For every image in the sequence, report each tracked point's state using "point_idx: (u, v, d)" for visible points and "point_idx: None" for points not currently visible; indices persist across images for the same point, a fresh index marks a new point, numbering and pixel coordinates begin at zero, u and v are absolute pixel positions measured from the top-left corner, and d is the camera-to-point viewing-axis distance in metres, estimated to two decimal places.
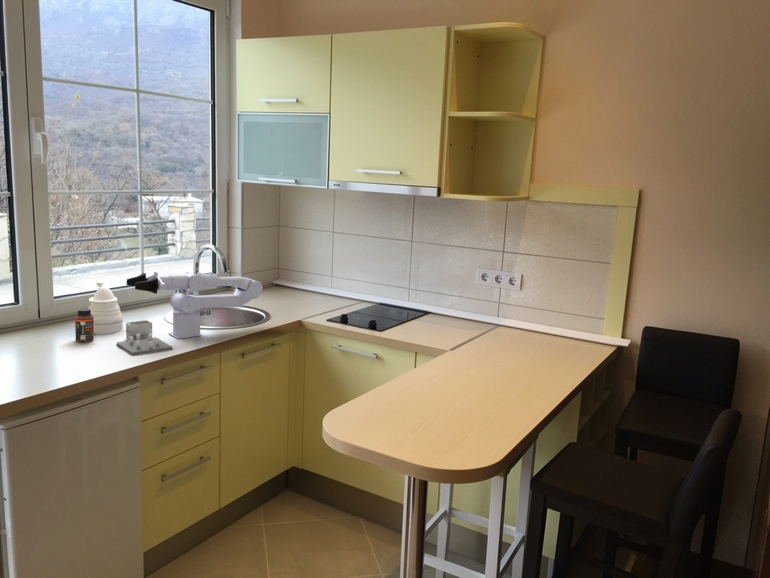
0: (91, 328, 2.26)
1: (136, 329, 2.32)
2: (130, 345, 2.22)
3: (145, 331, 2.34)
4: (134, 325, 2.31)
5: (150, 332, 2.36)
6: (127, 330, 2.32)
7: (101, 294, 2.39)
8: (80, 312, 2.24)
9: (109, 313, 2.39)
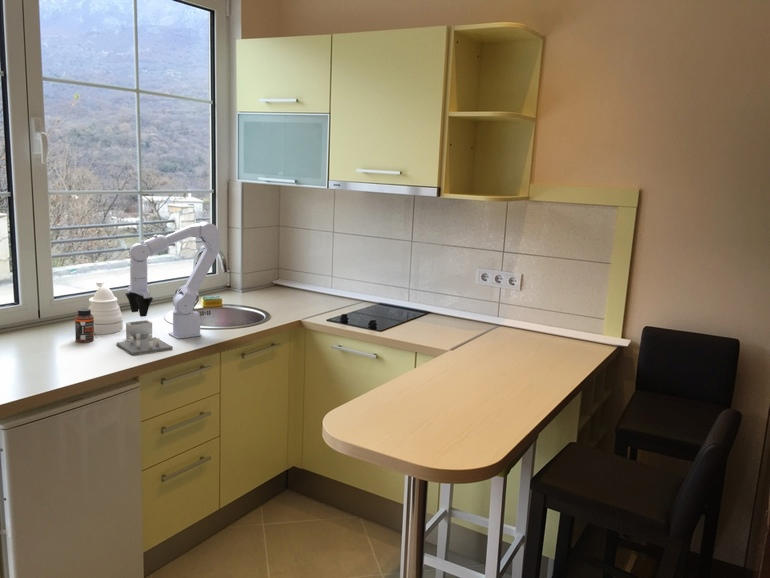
0: (91, 328, 2.26)
1: (136, 329, 2.32)
2: (130, 345, 2.22)
3: (145, 331, 2.34)
4: (134, 325, 2.31)
5: (150, 332, 2.36)
6: (127, 330, 2.32)
7: (101, 294, 2.39)
8: (80, 312, 2.24)
9: (109, 313, 2.39)
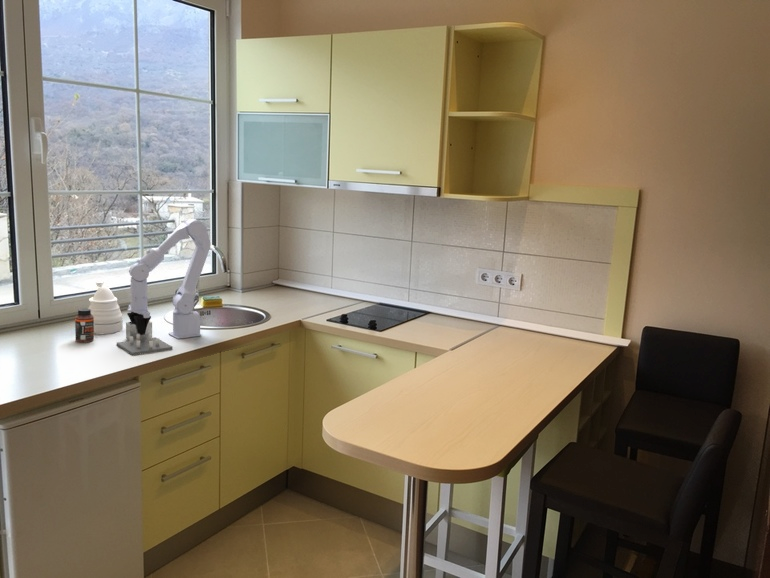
0: (91, 328, 2.26)
1: (136, 329, 2.32)
2: (130, 345, 2.22)
3: None
4: (134, 325, 2.31)
5: (150, 332, 2.36)
6: (127, 330, 2.32)
7: (101, 294, 2.39)
8: (80, 312, 2.24)
9: (109, 313, 2.39)
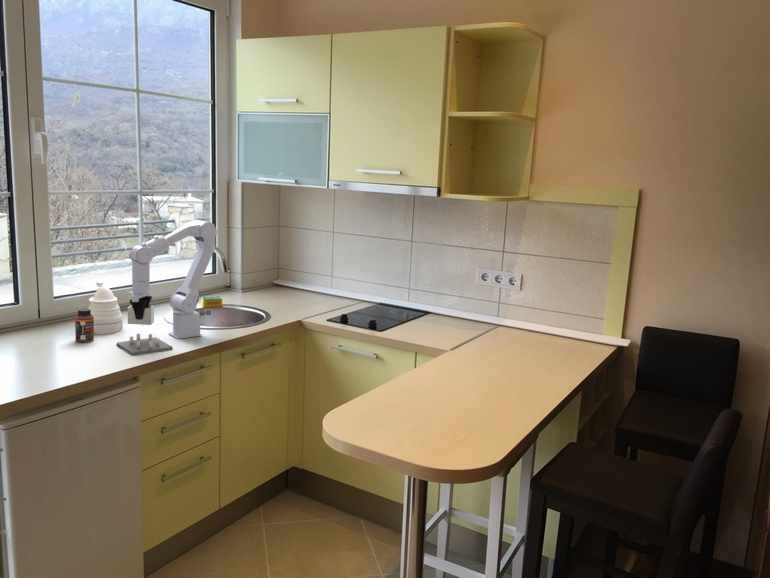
0: (91, 328, 2.26)
1: None
2: (130, 345, 2.22)
3: (143, 316, 2.27)
4: (132, 308, 2.26)
5: (149, 318, 2.27)
6: None
7: (101, 294, 2.39)
8: (80, 312, 2.24)
9: (109, 313, 2.39)
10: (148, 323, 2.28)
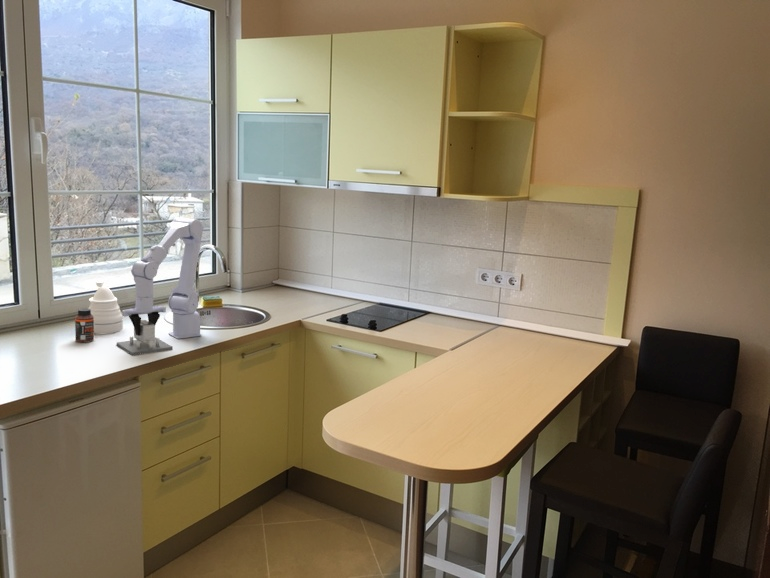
0: (91, 328, 2.26)
1: None
2: (130, 345, 2.22)
3: (140, 332, 2.21)
4: None
5: (142, 336, 2.20)
6: None
7: (101, 294, 2.39)
8: (80, 312, 2.24)
9: (109, 313, 2.39)
10: (142, 341, 2.20)
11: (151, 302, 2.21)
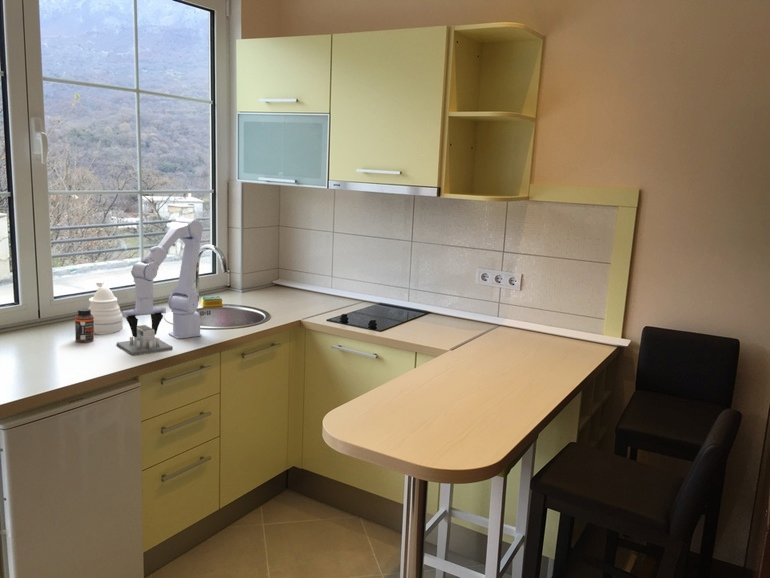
0: (91, 328, 2.26)
1: None
2: (130, 345, 2.22)
3: (140, 337, 2.21)
4: None
5: (142, 341, 2.20)
6: None
7: (101, 294, 2.39)
8: (80, 312, 2.24)
9: (109, 313, 2.39)
10: (142, 346, 2.21)
11: (151, 303, 2.21)
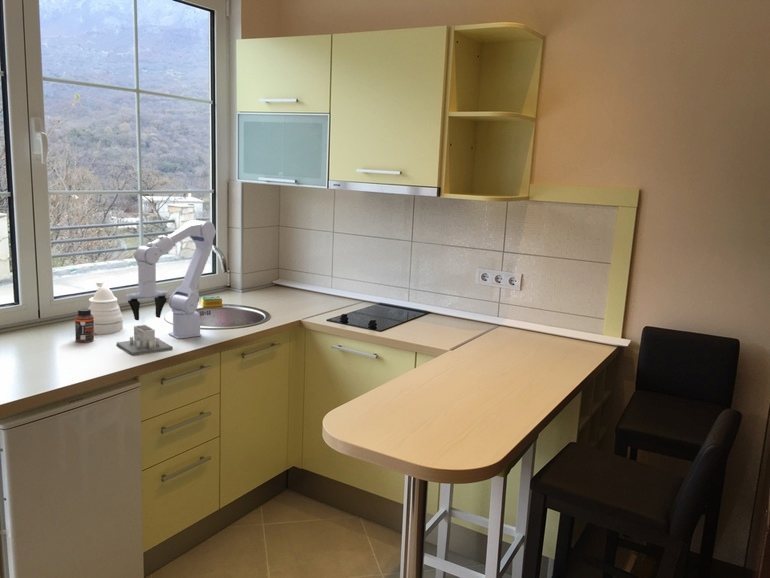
0: (91, 328, 2.26)
1: (136, 332, 2.24)
2: (130, 345, 2.22)
3: (140, 337, 2.21)
4: (135, 327, 2.24)
5: (142, 341, 2.20)
6: None
7: (101, 294, 2.39)
8: (80, 312, 2.24)
9: (109, 313, 2.39)
10: (142, 346, 2.21)
11: (154, 286, 2.24)
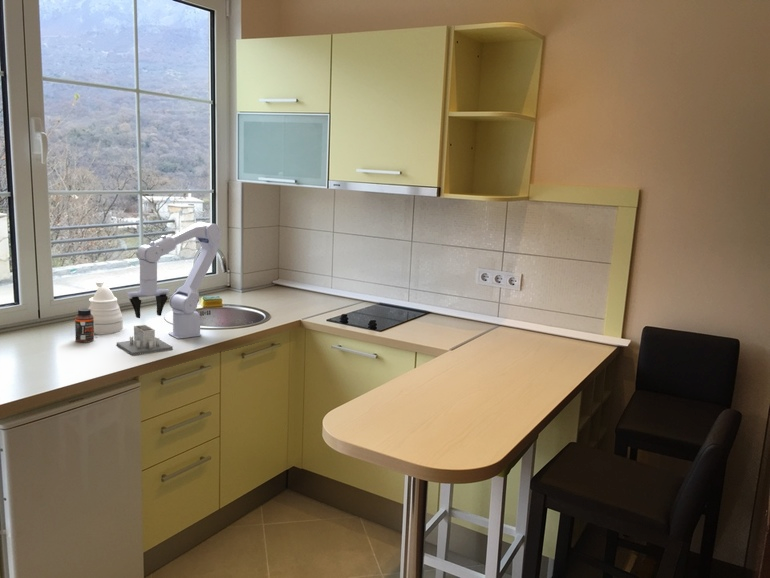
0: (91, 328, 2.26)
1: (136, 332, 2.24)
2: (130, 345, 2.22)
3: (140, 337, 2.21)
4: (135, 327, 2.24)
5: (142, 341, 2.20)
6: None
7: (101, 294, 2.39)
8: (80, 312, 2.24)
9: (109, 313, 2.39)
10: (142, 346, 2.21)
11: (155, 285, 2.27)
